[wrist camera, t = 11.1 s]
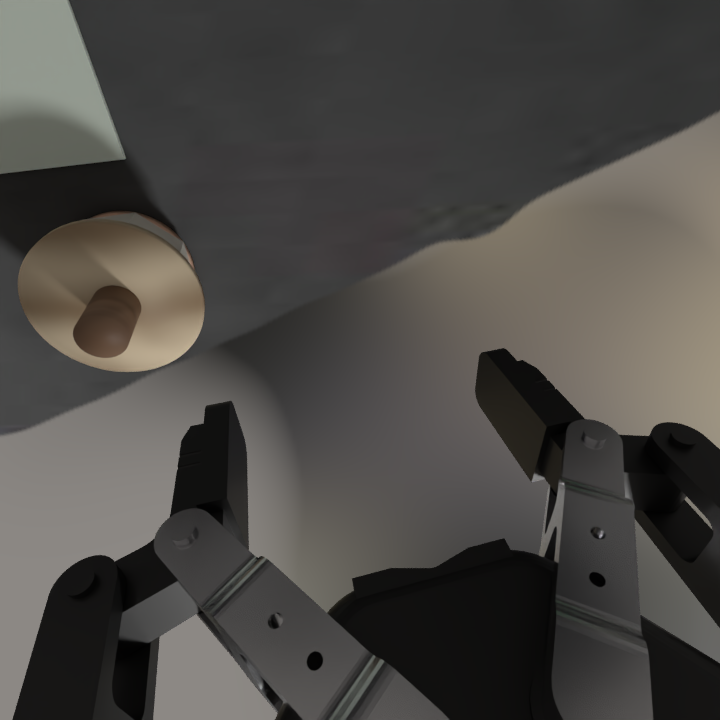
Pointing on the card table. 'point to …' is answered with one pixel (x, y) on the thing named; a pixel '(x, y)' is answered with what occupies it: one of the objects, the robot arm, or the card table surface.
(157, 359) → the lid
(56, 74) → the mat
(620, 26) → the card table surface
